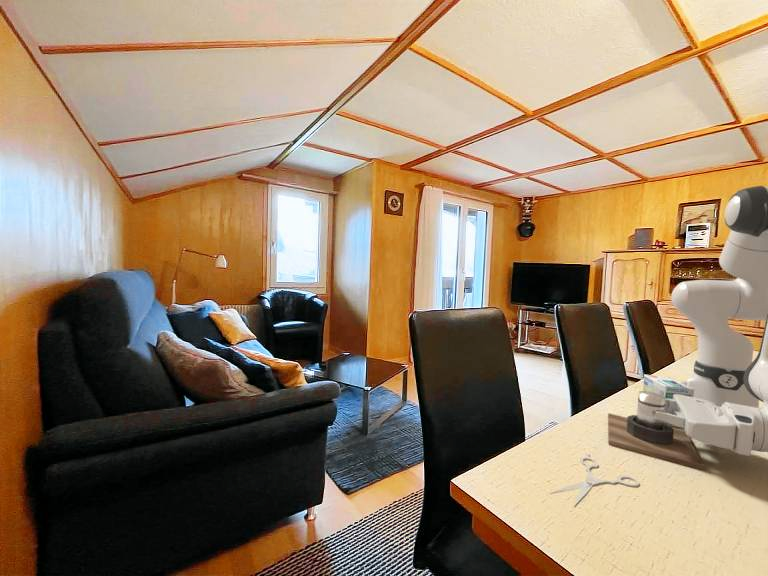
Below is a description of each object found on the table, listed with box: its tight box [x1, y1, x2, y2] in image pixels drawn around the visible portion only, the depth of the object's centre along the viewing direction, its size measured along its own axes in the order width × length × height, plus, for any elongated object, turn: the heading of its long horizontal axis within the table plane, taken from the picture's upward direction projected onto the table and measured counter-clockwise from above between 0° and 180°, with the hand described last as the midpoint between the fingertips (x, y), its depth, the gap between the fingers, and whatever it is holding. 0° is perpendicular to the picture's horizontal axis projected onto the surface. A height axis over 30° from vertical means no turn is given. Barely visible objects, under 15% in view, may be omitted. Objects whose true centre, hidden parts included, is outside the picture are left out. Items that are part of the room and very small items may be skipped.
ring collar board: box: [607, 412, 704, 471], centre depth 79 cm, size 18×16×4 cm
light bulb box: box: [642, 374, 694, 428], centre depth 91 cm, size 11×7×11 cm, turn 168°
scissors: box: [551, 452, 640, 507], centre depth 62 cm, size 11×1×20 cm
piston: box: [636, 390, 666, 430], centre depth 78 cm, size 5×5×10 cm
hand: (653, 407), depth 78 cm, fingers open, 8 cm apart
